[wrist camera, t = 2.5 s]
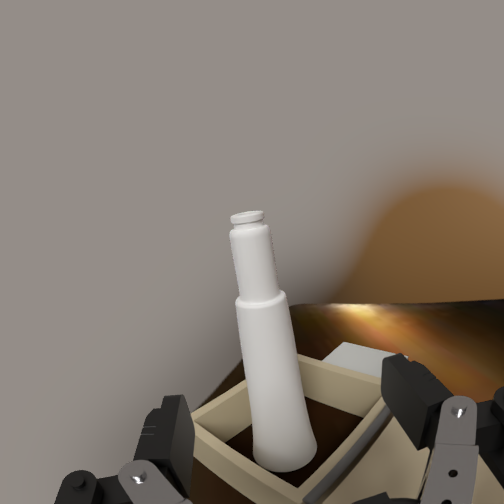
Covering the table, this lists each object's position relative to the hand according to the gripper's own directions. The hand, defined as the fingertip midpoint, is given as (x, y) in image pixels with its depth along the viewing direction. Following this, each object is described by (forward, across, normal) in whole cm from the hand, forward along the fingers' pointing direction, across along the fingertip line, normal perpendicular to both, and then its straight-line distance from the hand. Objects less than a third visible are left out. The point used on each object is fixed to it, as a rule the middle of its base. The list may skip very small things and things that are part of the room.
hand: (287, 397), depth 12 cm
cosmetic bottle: (+12, 0, +16) cm, 20 cm away
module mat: (+22, -11, +16) cm, 29 cm away
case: (+12, -1, +16) cm, 20 cm away
